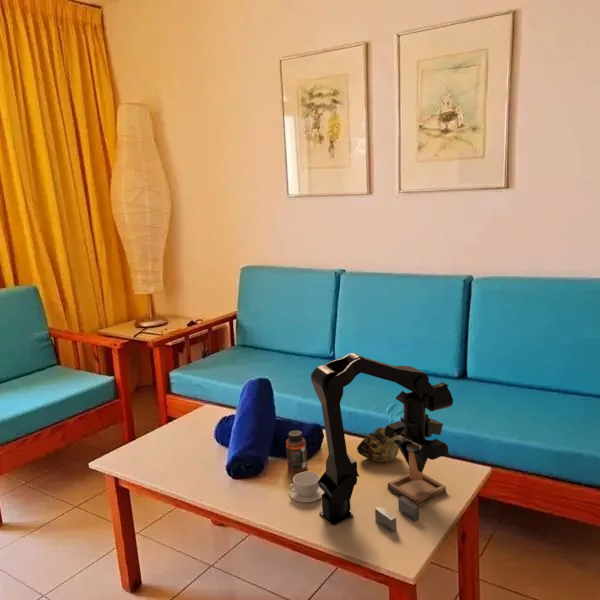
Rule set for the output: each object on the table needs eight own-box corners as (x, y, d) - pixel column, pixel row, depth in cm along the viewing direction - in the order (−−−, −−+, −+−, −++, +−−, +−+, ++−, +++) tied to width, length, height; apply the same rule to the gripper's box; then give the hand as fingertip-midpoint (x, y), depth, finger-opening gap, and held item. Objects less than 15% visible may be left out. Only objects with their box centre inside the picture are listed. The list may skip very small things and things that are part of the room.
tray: (415, 507, 145) (415, 500, 144) (387, 488, 154) (387, 482, 154) (446, 492, 150) (445, 486, 150) (417, 476, 160) (417, 470, 159)
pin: (415, 483, 148) (415, 452, 146) (403, 476, 152) (403, 445, 150) (428, 477, 151) (427, 446, 149) (416, 470, 154) (415, 440, 153)
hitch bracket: (391, 533, 135) (391, 520, 134) (375, 521, 140) (375, 508, 139) (419, 519, 140) (419, 506, 139) (403, 508, 145) (402, 496, 144)
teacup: (317, 480, 161) (316, 466, 160) (331, 498, 152) (330, 482, 151) (284, 489, 158) (283, 474, 157) (296, 507, 148) (295, 491, 148)
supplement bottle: (310, 469, 167) (308, 434, 165) (291, 474, 165) (289, 439, 162) (303, 461, 172) (300, 427, 170) (285, 465, 170) (282, 431, 168)
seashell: (370, 447, 178) (369, 418, 176) (404, 454, 172) (403, 424, 170) (355, 462, 170) (354, 431, 167) (391, 470, 164) (390, 438, 162)
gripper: (463, 417, 144) (463, 473, 147) (412, 396, 159) (413, 447, 163) (431, 429, 138) (432, 487, 141) (382, 406, 154) (384, 458, 157)
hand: (415, 468), depth 151 cm, fingers closed on pin, 4 cm apart
